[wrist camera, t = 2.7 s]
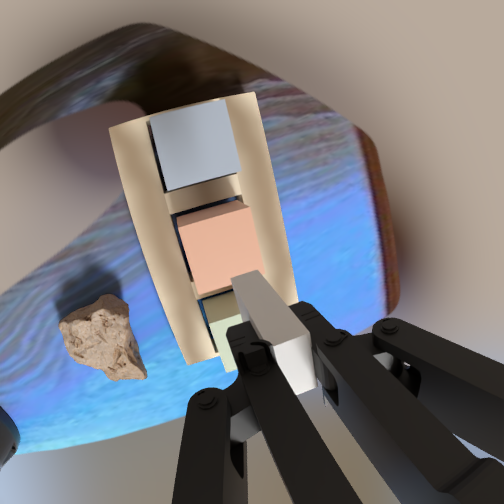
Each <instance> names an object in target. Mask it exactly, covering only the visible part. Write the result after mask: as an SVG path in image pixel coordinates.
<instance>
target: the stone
mask: <svg viewBox="0 0 504 504" xmlns="http://www.w3.org/2000/svg"><path fill="white" fill-rule="evenodd" d="M59 329H60V330H61V333H62V335H63V339H64V343H65V346H66V349H67V351H68V353H69V355H70V356H71V357H72V358H73V359H74V360H75V361H76V362H77V363H79V364H84V365H87V366H90V367H93V368H94V369H101V370H103V371H104V372H105V374H106V376H107V377H108V378H109V379H110V380H113V381H118V380H119V379H141V380H143V379H146V378H147V371H146V369H145V366H144V364H143V362H142V359H141V356H140V354H139V348H138V344H137V342H136V340H135V338H134V335H133V333H132V330H131V327H130V323H129V308H128V304H127V303H125V302H124V301H123V300H122V299H118V298H117V297H116V296H115V295H113V294H106V295H101V296H100V297H99V299H98V300H97V301H96V302H95V303H93V304H90V305H88V306H85V307H83V308H79V309H77V310H76V311H74V312H71V313H70V314H69V315H68V316H66V317H64V318H63V319H62V320H61V321H60V322H59Z"/></svg>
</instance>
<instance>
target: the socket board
mask: <svg viewBox="0 0 504 504" xmlns="http://www.w3.org/2000/svg"><path fill="white" fill-rule="evenodd" d="M223 99H225V102H226V106H227V110H228V114H229V118H230V123H231V127H232V131H233V135H234V140H235V144H236V148H237V152H238V157H239V161H240V165H241V169H242V171H239V172H235V173H231V174H228V175H224V176H220V177H216V178H212V179H209V180H205V181H201V182H198V183H194V184H190V185H187V186H183V187H180V188H177V189H173V190H170V191H164V187H163V184H162V180H161V176H160V172H159V169H158V165H157V161H156V157H155V153H154V149H153V145H152V140H151V136H150V132H149V128H148V126H149V125H151V123H150V118H149V117H152V116H156V115H159V114H163V113H167V112H170V111H174V110H178V109H182V108H186V107H190V106H195V105H199V104H203V103H208V102H213V101H218V100H223ZM109 133H110V137H111V142H112V145H113V150H114V154H115V158H116V162H117V166H118V170H119V173H120V178H121V181H122V185H123V189H124V192H125V196H126V199H127V203H128V206H129V209H130V213H131V216H132V219H133V223H134V226H135V229H136V232H137V235H138V238H139V241H140V244H141V247H142V250H143V253H144V256H145V259H146V262H147V265H148V268H149V271H150V274H151V276H152V279H153V282H154V285H155V287H156V290H157V293H158V295H159V298H160V301H161V303H162V306H163V308H164V311H165V313H166V316H167V318H168V321H169V323H170V326H171V328H172V331H173V333H174V335H175V338H176V340H177V343H178V345H179V347H180V350H181V352H182V354H183V356H184V359H185V361H186V363H187V365H191V364H194V363H197V362H201V361H204V360H207V359H210V358H214V357H217V356H220V354H219V351H218V349H217V346H216V343H215V340H214V339H211V337H210V334H209V331H208V328H207V326H206V323H205V320H204V317H203V314H202V311H201V308H200V305H199V302H198V299H201V298H204V297H208V296H211V295H214V294H217V293H220V292H224V291H227V290H230V289H233V286H232V285H229V286H226V287H223V288H219V289H216V290H213V291H210V292H207V293H203V294H200V295H199V294H198V291H197V288H196V285H195V282H194V278H193V275H192V272H188V269H187V266H186V263H185V259H184V256H183V253H182V250H181V247H180V243H179V240H178V237H177V233H176V230H175V227H174V223H173V220H172V216H171V214H174V213H177V212H180V211H184V210H187V209H191V208H194V207H197V206H201V205H204V204H208V203H211V202H215V201H219V200H222V199H226V198H230V197H233V196H236V198H237V200H238V201H240V202H242V203H244V204H245V205H247V206H249V207H250V208H251V213H252V217H253V221H254V226H255V230H256V234H257V239H258V243H259V248H260V252H261V256H262V261H263V265H264V270H265V274H263V277H264V278H265V279H266V280H267V281H268V283H269V284H270V285H271V286H272V288H273V289H274V290H275V291H276V292H277V294H278V295H279V296H280V297H281V298H282V300H283V301H284V302H285V303H286V304H287V306H290V305H292V304H295V303H298V296H297V290H296V285H295V279H294V274H293V269H292V263H291V258H290V253H289V248H288V242H287V237H286V232H285V227H284V222H283V217H282V212H281V207H280V202H279V198H278V193H277V188H276V183H275V179H274V174H273V169H272V165H271V160H270V156H269V151H268V147H267V142H266V138H265V134H264V129H263V125H262V121H261V116H260V112H259V108H258V104H257V99H256V95H255V92H250V93H244V94H238V95H233V96H227V97H222V98H217V99H212V100H207V101H203V102H198V103H194V104H190V105H185V106H181V107H177V108H173V109H170V110H166V111H162V112H158V113H155V114H151V115H148V116H145V117H141V118H138V119H135V120H131V121H128V122H125V123H122V124H119V125H116V126H113V127H111V128H109Z"/></svg>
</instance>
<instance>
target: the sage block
mask: <svg viewBox="0 0 504 504" xmlns="http://www.w3.org/2000/svg"><path fill="white" fill-rule="evenodd" d="M202 302H203V306H204V309H205V313H206V316H207V320H208V323H209V326H210V329H211V332H212V335H213V338H214V340H215V343H216V346H217V349H218V351H219V354H220V357H221V360H222V362H223V365H224V368H225V370H226V373H227V372H230V371H233V370H236V369H237V366H236V363H235V361H234V358H233V355H232V352H231V349H230V346H229V343H228V341H227V338H226V332H227V329H228V327H231V326H234V325H237V324H240V323H243V321H242V317H241V314H240V310H239V307H238V304H237V300H236V297H235V293H234V291H231V292H228V293H225V294H222V295H219V296H215V297H212V298H209V299H206V300H203V301H202Z"/></svg>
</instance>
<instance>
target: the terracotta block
mask: <svg viewBox="0 0 504 504" xmlns="http://www.w3.org/2000/svg"><path fill="white" fill-rule="evenodd" d="M176 218H177V225H178V230H179V233H180V236H181V240H182V243H183V246H184V250H185V253H186V256H187V259H188V263H189V266H190V269H191V272H192V275H193V278H194V282H195V285H196V288H197V291H198V294H199V295H200V294H203V293H207V292H210V291H213V290H216V289H219V288H223V287H226V286H229V285H232V283H231V279H230V278H232V277H235V276H238V275H242V274H245V273H248V272H251V271H254V270H257V269H258V271H259V272H260V273H261V274H262V275H263V274H265V270H264V265H263V261H262V256H261V252H260V248H259V243H258V239H257V234H256V230H255V226H254V221H253V217H252V213H251V208H250V207H249V206H247V205H245V204H244V203H242V202H240V201H238V200H235V201H231V202H228V203H224V204H221V205H217V206H213V207H210V208H206V209H203V210H200V211H196V212H193V213H189V214H186V215H183V216H179V217H176Z"/></svg>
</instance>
